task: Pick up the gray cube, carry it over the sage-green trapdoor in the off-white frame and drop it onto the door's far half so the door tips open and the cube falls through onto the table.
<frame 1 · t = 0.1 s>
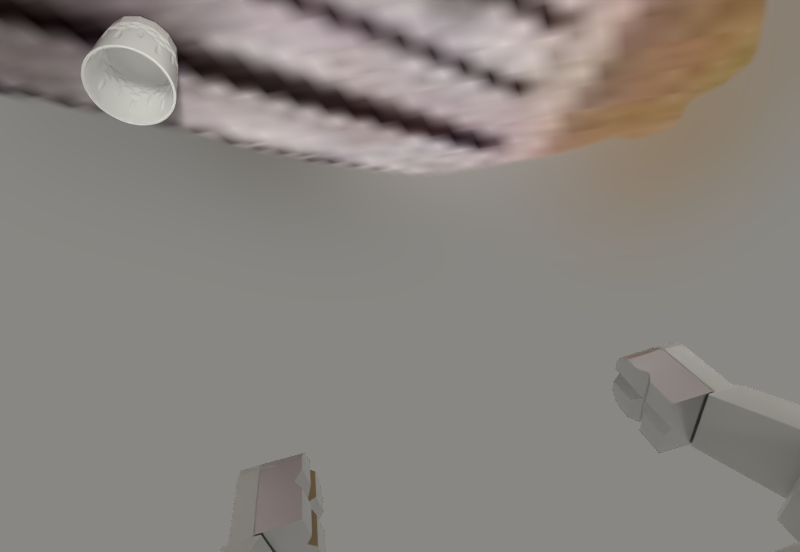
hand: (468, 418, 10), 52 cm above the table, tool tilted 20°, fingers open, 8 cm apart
white cup: (144, 47, 47), on the table
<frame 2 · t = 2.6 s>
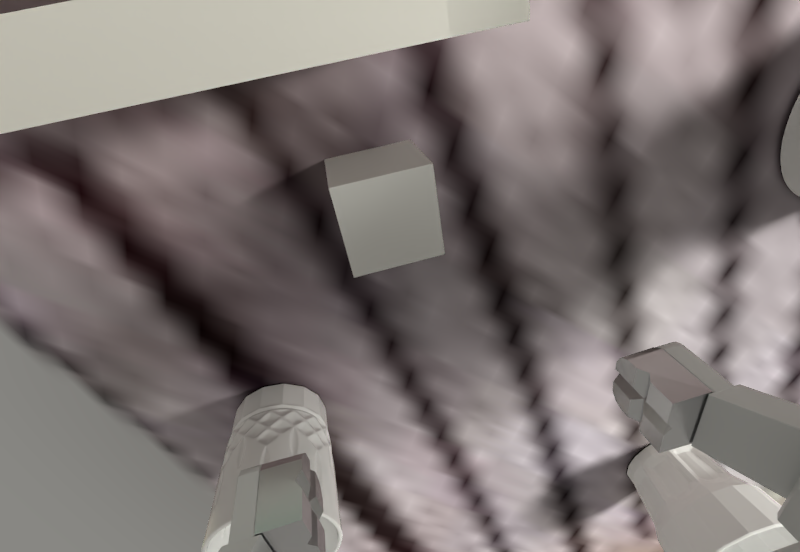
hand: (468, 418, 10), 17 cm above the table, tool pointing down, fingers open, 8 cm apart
gray cube: (376, 190, 25), on the table
white cup: (282, 411, 32), on the table
cup: (658, 456, 48), on the table
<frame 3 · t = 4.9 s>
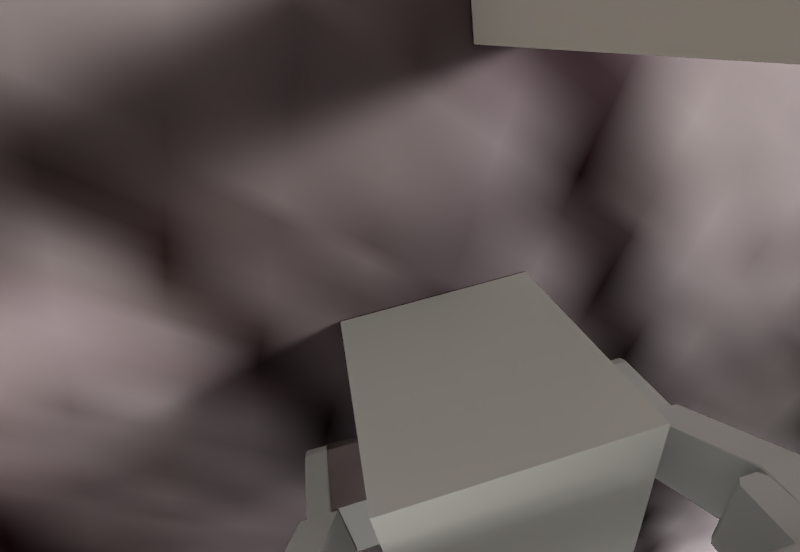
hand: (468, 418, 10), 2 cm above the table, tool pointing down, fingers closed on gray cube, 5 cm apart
gray cube: (445, 365, 12), on the table, touching gripper
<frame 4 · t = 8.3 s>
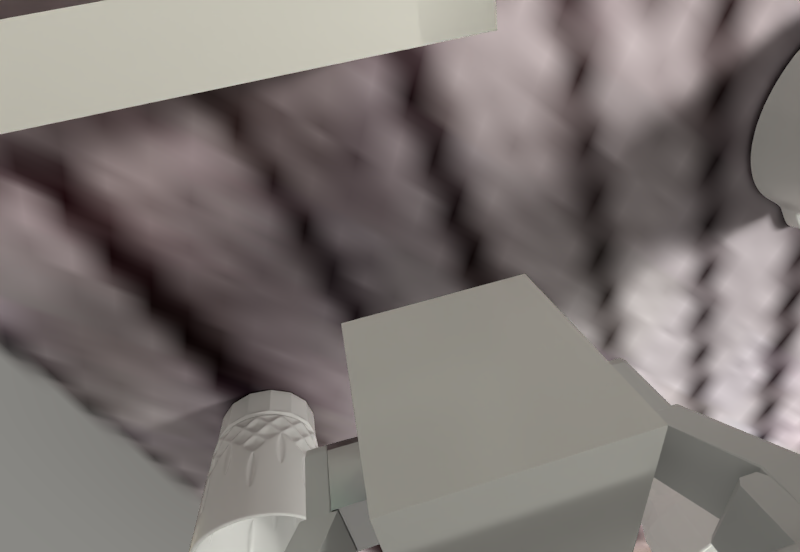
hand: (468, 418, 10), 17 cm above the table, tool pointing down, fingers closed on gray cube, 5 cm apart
gray cube: (445, 366, 12), point 15 cm above the table, touching gripper
white cup: (269, 418, 32), on the table
cup: (645, 458, 49), on the table
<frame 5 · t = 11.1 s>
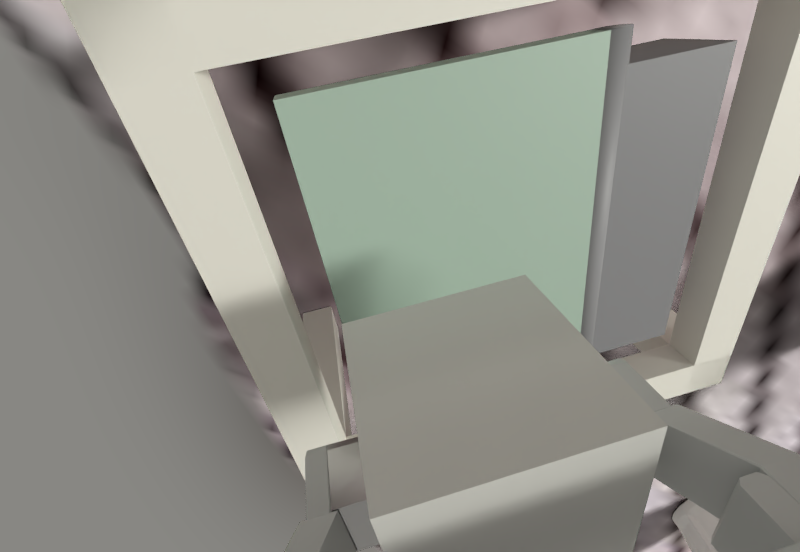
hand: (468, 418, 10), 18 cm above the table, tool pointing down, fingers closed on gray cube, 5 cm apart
trapdoor frame: (402, 176, 25), on the table
gray cube: (445, 367, 12), point 16 cm above the table, touching gripper
cup: (697, 504, 60), on the table
trapdoor: (506, 244, 16), point 11 cm above the table, hinge at 0.0°
when the fingers open (17 cm above the table, at t = 12.0 s): gray cube drops 5 cm, resting on trapdoor.
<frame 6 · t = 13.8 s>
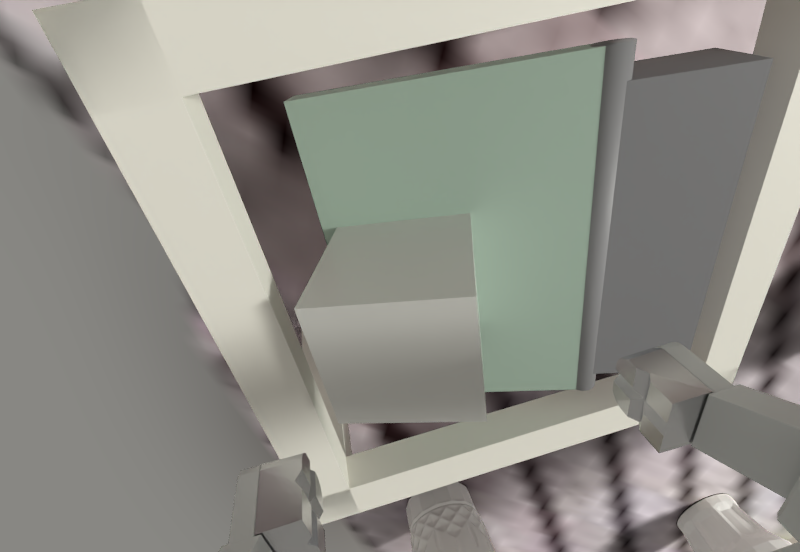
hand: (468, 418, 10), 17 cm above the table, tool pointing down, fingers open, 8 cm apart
trapdoor frame: (400, 187, 25), on the table
gray cube: (412, 276, 16), point 10 cm above the table, tilted 19°, touching trapdoor
white cup: (436, 498, 43), on the table
cup: (702, 510, 59), on the table
trapdoor: (508, 247, 17), point 10 cm above the table, hinge at -18.9°, touching gray cube
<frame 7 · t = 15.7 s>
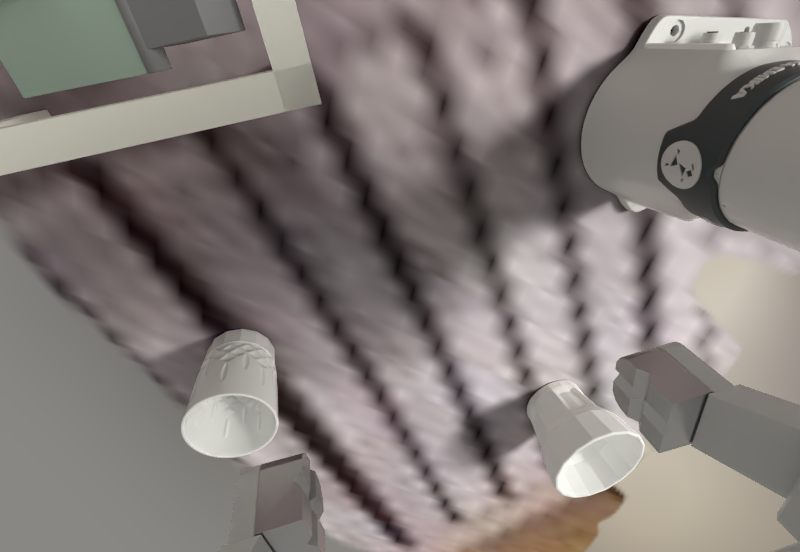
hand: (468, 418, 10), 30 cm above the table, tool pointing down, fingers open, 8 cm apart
white cup: (242, 352, 44), on the table
cup: (551, 400, 61), on the table
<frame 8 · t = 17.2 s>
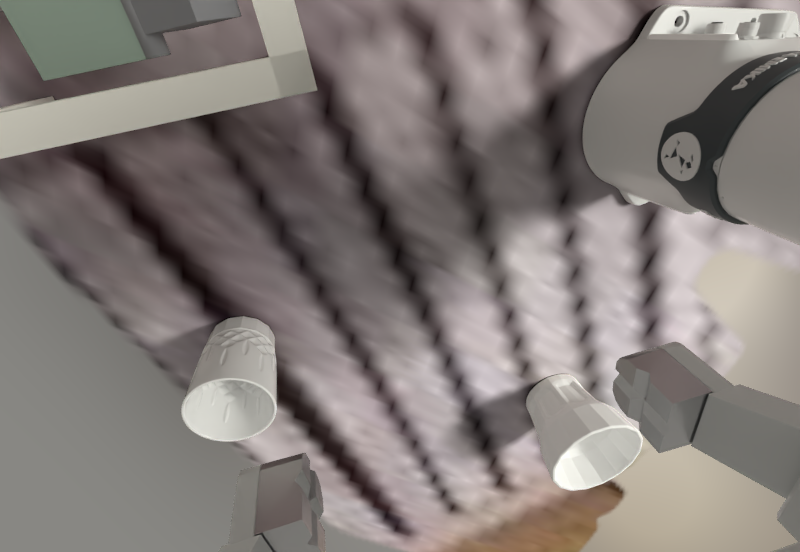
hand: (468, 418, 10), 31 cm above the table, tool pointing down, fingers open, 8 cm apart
white cup: (243, 339, 45), on the table
cup: (551, 393, 61), on the table
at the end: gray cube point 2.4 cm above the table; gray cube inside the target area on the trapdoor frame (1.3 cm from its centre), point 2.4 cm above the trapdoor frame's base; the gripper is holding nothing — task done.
